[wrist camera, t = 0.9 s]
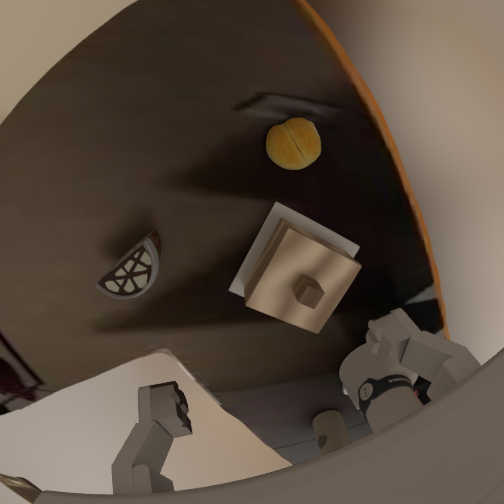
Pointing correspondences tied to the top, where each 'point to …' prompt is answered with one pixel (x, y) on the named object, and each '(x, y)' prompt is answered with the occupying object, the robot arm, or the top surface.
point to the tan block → (299, 277)
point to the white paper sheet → (266, 232)
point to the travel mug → (330, 431)
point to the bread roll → (293, 144)
